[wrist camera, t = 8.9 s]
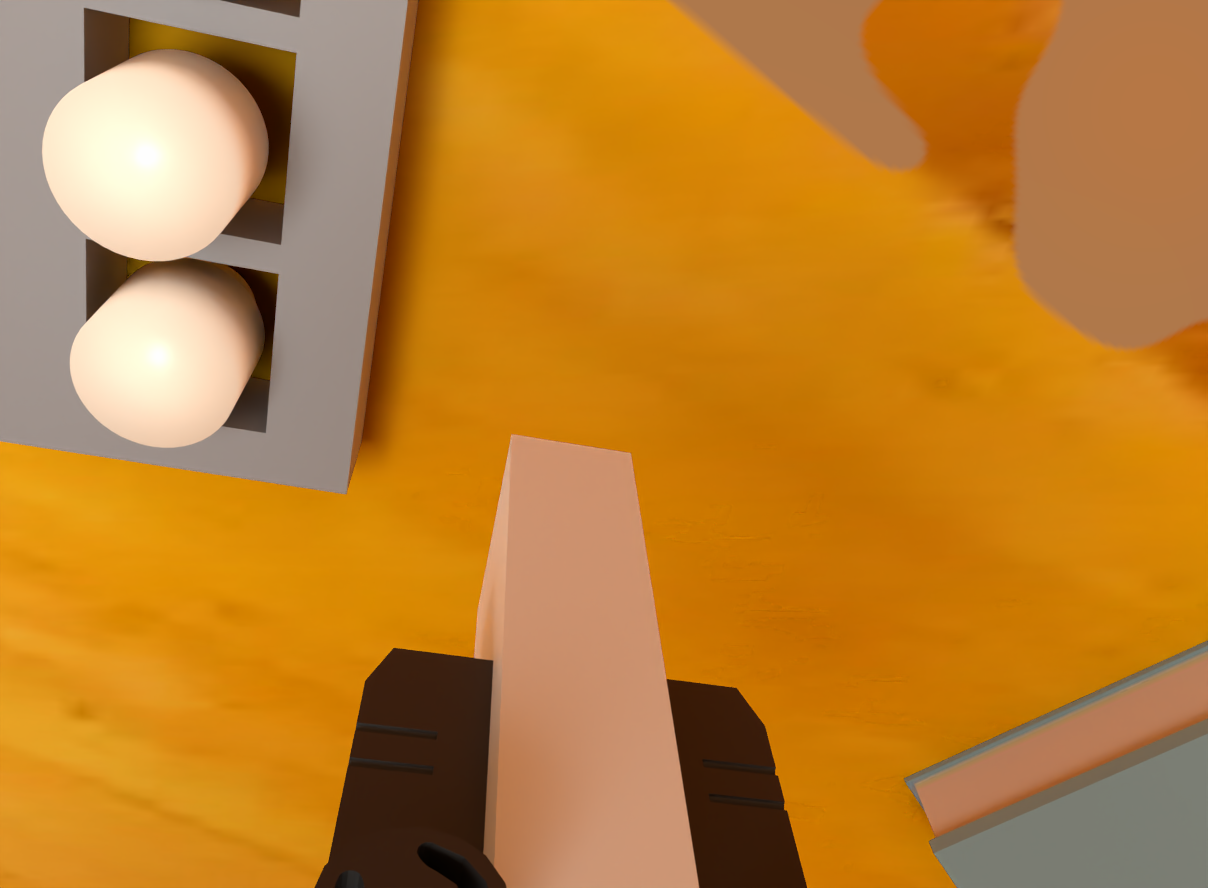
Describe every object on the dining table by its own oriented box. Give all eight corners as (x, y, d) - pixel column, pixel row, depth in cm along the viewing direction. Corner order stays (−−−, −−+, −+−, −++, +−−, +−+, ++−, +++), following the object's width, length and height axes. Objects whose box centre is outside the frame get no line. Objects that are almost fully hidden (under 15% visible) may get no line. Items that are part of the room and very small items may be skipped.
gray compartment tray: (42, 389, 41) (-3, 440, 37) (20, -377, 30) (-49, -407, 26) (361, 441, 43) (346, 494, 39) (452, -263, 32) (442, -277, 28)
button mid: (118, 183, 35) (44, 242, 30) (119, 22, 32) (39, 55, 27) (276, 213, 36) (231, 276, 30) (288, 58, 33) (241, 97, 28)
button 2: (132, 356, 39) (70, 433, 34) (134, 226, 37) (68, 288, 32) (271, 379, 40) (232, 459, 35) (281, 253, 38) (241, 318, 33)
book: (1351, 566, 49) (1431, 636, 45) (1418, 775, 56) (1492, 853, 52) (901, 771, 54) (933, 853, 50) (1014, 941, 61) (1051, 1025, 57)
